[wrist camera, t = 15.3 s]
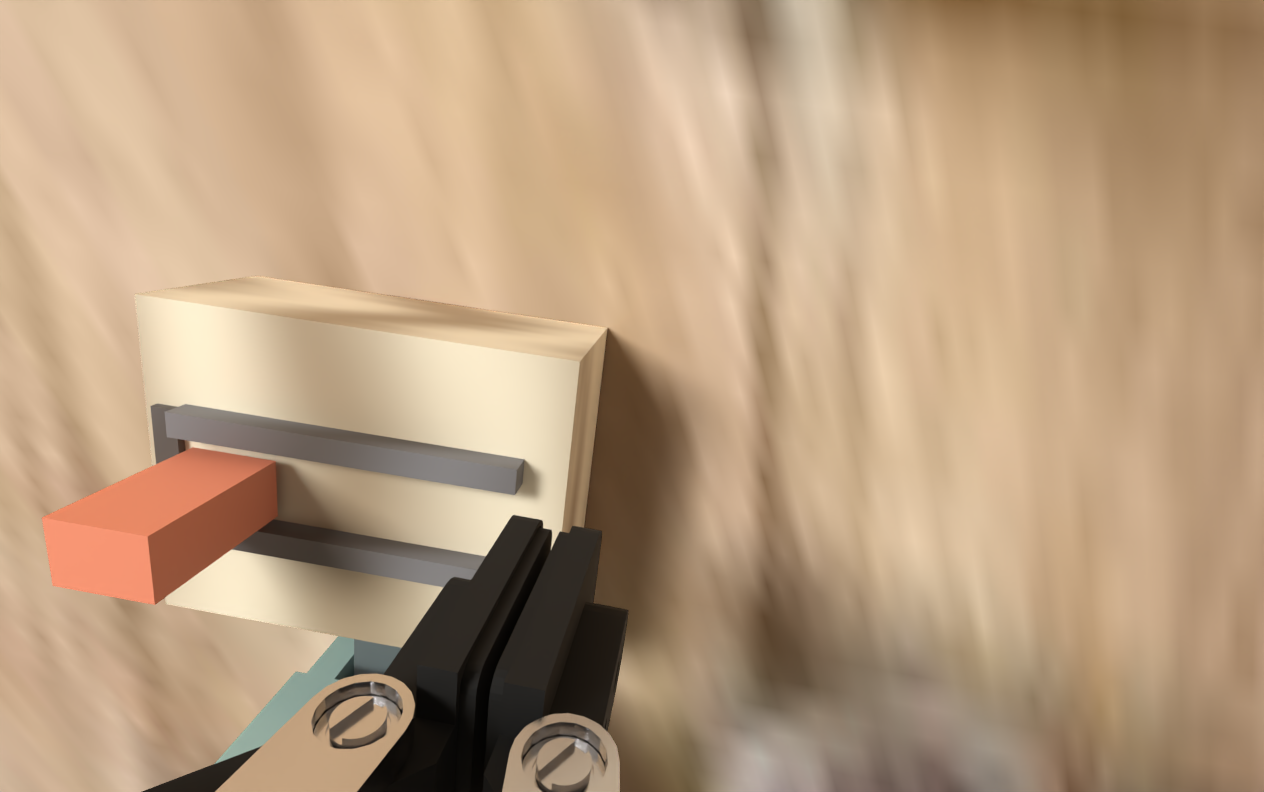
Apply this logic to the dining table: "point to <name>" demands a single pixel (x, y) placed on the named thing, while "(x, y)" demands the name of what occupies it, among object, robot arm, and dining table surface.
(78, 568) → the orange clay brick
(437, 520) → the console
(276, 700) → the carriage
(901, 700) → the dining table surface
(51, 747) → the dining table surface
